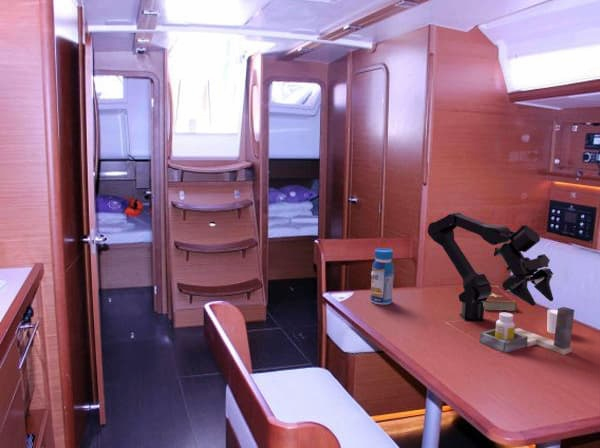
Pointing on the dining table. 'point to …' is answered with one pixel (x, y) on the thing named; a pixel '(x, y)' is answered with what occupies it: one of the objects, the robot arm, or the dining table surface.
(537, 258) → the robot arm
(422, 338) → the dining table surface
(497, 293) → the hardcover book
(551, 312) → the shot glass
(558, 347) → the tray with upright post
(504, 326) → the supplement bottle
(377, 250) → the beverage bottle
